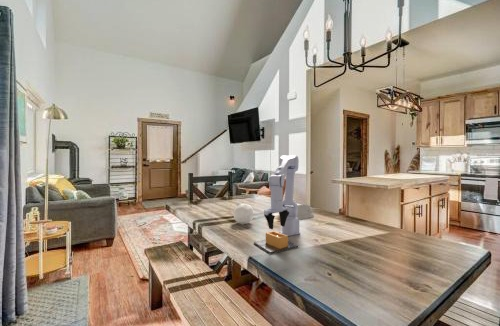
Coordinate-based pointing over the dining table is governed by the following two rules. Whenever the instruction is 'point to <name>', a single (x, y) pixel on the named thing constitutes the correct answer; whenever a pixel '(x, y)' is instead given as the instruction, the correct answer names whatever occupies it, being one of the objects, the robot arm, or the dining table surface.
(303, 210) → the grey stone
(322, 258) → the dining table surface
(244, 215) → the geodesic sphere
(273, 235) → the orange hollow rectangular block
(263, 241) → the keeper plate
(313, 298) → the dining table surface
